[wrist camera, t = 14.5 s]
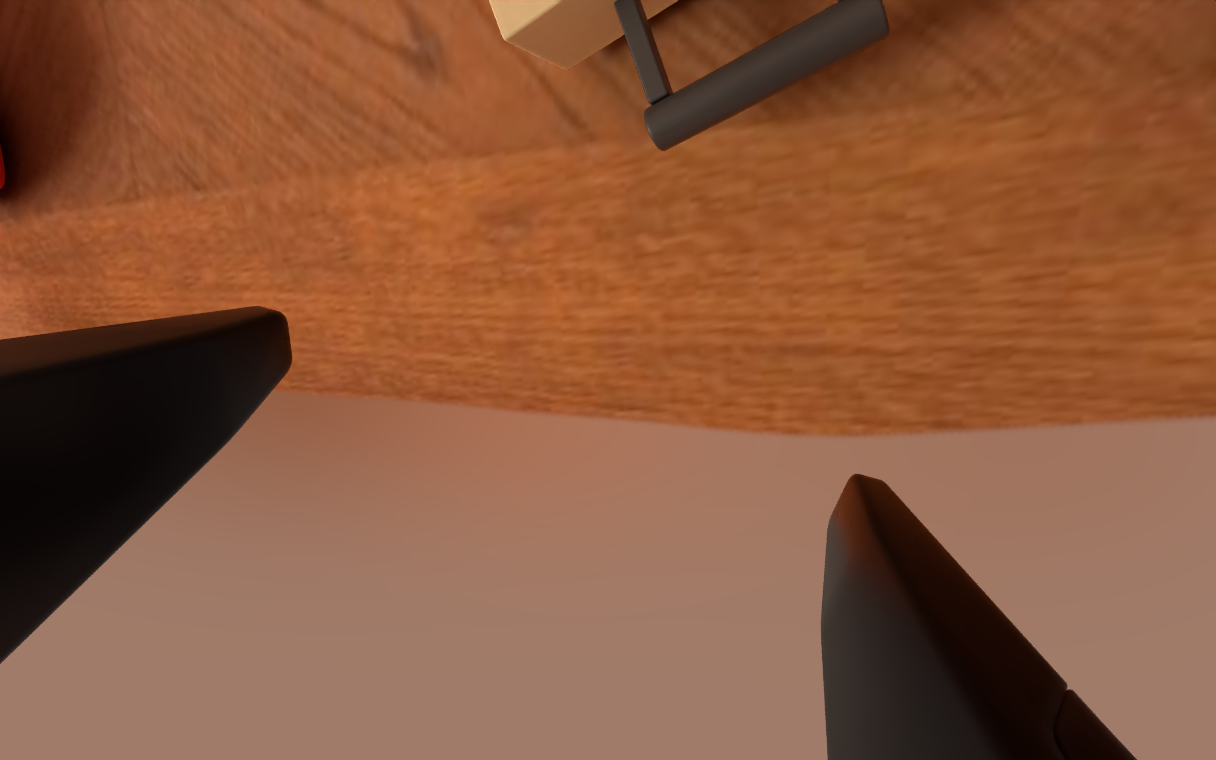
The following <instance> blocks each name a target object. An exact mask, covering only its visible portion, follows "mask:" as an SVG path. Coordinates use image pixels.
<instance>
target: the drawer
mask: <svg viewBox="0 0 1216 760" xmlns="http://www.w3.org/2000/svg"><path fill="white" fill-rule="evenodd" d="M677 1H678V0H489V2H490V4H491V7H492V10H493V13H494V15H495V18H496V21H497V23H498V26H499V29H500V31H501V34H502V37H503V39H504V40H505V41H507V42H509V43H511V44H513V45H515V46H517V47H519V48H521V49H523V50H525V51H527V52H529V53H531V54H533V55H535V56H538V57H540V58H542V59H544V60H546V61H548V62H550V63H552V64H554V65H556V66H558V67H560V68H562V69H564V70H569V69H570V68H572V67H574V66H575V65H577V64H578V63H580V62H582V61H583V60H585V59H586V58H588V57H589V56H591V55H593V54H594V53H596V52H597V51H599V50H601V49H602V48H604V47H605V46H607V45H608V44H610V43H612V42H613V41H615V40H616V39H618V38H620V37H621V36H623V35H625V37H626V40H627V43H628V46H629V49H630V52H631V54H632V57H633V60H634V63H635V66H636V68H637V71H638V74H639V77H640V80H641V83H642V85H643V88H644V91H645V94H646V97H647V100H648V102H649V103H650V104H651V105H652V106H650V107H648V108H647V109H646V110H645V111H644V119H645V124H646V127H647V130H648V132H649V135H650V137H651V139H652V140H653V142H654V144H655V145H656V146H657V147H658V148H659V149H660V150H661V151H665V150H667V149H669V148H671V147H673V146H675V145H677V144H679V143H681V142H683V141H685V140H687V139H689V138H691V137H693V136H695V135H697V134H699V133H701V132H703V131H705V130H707V129H709V128H711V127H712V126H714V125H716V124H718V123H720V122H722V121H724V120H726V119H728V118H730V117H732V116H734V115H736V114H738V113H740V112H742V111H744V110H746V109H748V108H750V107H752V106H754V105H756V104H758V103H760V102H762V101H764V100H765V99H767V98H769V97H771V96H773V95H775V94H777V93H779V92H781V91H783V90H785V89H787V88H789V87H791V86H793V85H795V84H797V83H799V82H801V81H803V80H805V79H807V78H809V77H811V76H813V75H815V74H817V73H818V72H820V71H822V70H824V69H826V68H828V67H830V66H832V65H834V64H836V63H838V62H840V61H842V60H844V59H846V58H848V57H850V56H852V55H854V54H856V53H858V52H860V51H862V50H864V49H866V48H868V47H869V46H871V45H873V44H875V43H877V42H879V41H881V40H883V39H885V38H887V37H888V36H889V32H890V29H889V24H888V19H887V16H886V12H885V8H884V5H883V2H882V0H838V3H836V4H834V5H832V6H830V7H829V8H827V9H825V10H823V11H821V12H820V13H818V14H816V15H814V16H812V17H811V18H809V19H807V20H805V21H803V22H802V23H800V24H798V25H796V26H794V27H792V28H791V29H789V30H787V31H785V32H783V33H782V34H780V35H778V36H776V37H774V38H773V39H771V40H769V41H767V42H765V43H764V44H762V45H760V46H758V47H756V48H755V49H753V50H751V51H749V52H747V53H746V54H744V55H742V56H740V57H738V58H737V59H735V60H733V61H731V62H729V63H728V64H726V65H724V66H722V67H720V68H719V69H717V70H715V71H713V72H711V73H710V74H708V75H706V76H704V77H702V78H700V79H699V80H697V81H695V82H693V83H691V84H690V85H688V86H686V87H684V88H682V89H681V90H679V91H677V92H675V93H673V91H672V89H671V86H670V83H669V80H668V77H667V74H666V71H665V69H664V66H663V63H662V60H661V57H660V54H659V51H658V49H657V46H656V43H655V40H654V37H653V34H652V32H651V29H650V26H649V23H648V19H650V18H651V17H653V16H654V15H656V14H658V13H659V12H661V11H662V10H664V9H666V8H667V7H669V6H670V5H672V4H674V3H675V2H677Z"/></svg>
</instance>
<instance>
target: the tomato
mask: <svg viewBox="0 0 1216 760" xmlns="http://www.w3.org/2000/svg"><path fill="white" fill-rule="evenodd" d="M4 184H5V166H4V161H3V156H2V151H1V145H0V189H1V188H2V187H3V185H4Z"/></svg>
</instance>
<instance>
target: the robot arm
mask: <svg viewBox="0 0 1216 760" xmlns="http://www.w3.org/2000/svg"><path fill="white" fill-rule="evenodd" d="M291 363H292V351H291V343H290V336H289V328H288V322H287V319H286V317H285V316H284V314H282V313H281V312H279V311H275V310H272V309H268V308H265V307H261V306H253V307H245V308H238V309H230V310H222V311H215V312H207V313H200V314H192V315H184V316H177V317H169V318H162V319H154V320H147V321H139V322H131V323H124V324H116V325H109V326H101V327H93V328H86V329H78V330H71V331H63V332H55V333H48V334H40V335H33V336H25V337H17V338H10V339H2V340H0V664H1V663H2V662H3V661H4V660H5V659H6V658H7V657H8V656H9V655H10V654H11V653H12V652H13V651H14V650H15V649H16V648H17V647H18V646H19V645H20V644H21V643H22V642H23V641H24V640H25V639H26V638H28V637H29V635H30V634H32V633H33V632H34V631H35V630H36V629H37V628H38V627H39V626H40V625H41V624H42V623H43V622H44V621H45V620H46V619H47V618H48V617H49V616H50V615H51V614H52V613H53V612H54V611H55V610H56V609H57V608H58V607H59V606H60V605H61V604H62V603H63V602H65V601H66V599H68V598H69V597H70V596H71V595H72V594H73V593H74V592H75V591H76V590H77V589H78V588H79V587H80V586H81V585H82V584H83V583H84V582H85V581H86V580H87V579H88V578H89V577H90V576H91V575H92V574H93V573H94V572H95V571H96V570H97V569H98V568H99V567H100V566H101V565H103V563H105V562H106V561H107V560H108V559H109V558H110V557H111V556H112V555H113V554H114V553H115V552H116V551H117V550H118V549H119V548H120V547H121V546H122V545H123V544H124V543H125V542H126V541H127V540H128V539H129V538H130V537H131V536H132V535H133V534H134V533H135V532H136V531H137V530H138V529H140V528H141V527H142V526H143V525H144V524H145V523H146V521H148V520H149V519H150V518H151V517H152V516H153V515H154V514H155V513H156V512H157V511H158V510H159V509H160V508H161V507H162V506H163V505H164V504H165V503H166V502H167V501H168V500H169V499H170V498H171V497H172V496H173V495H175V494H176V493H177V492H178V490H179V489H181V488H182V487H183V486H184V485H185V484H186V483H187V482H188V481H189V480H190V479H191V478H192V477H193V476H194V475H195V474H196V473H197V472H198V471H199V470H200V469H201V468H202V467H203V466H204V465H205V464H206V463H207V462H208V461H209V460H210V459H211V458H212V457H214V456H215V455H216V454H217V453H218V452H219V451H220V450H221V449H222V448H223V447H224V446H225V445H226V444H227V442H229V441H230V440H231V438H232V437H233V436H234V435H235V434H236V433H237V432H238V430H239V429H240V428H241V427H242V426H243V425H244V423H245V422H246V421H247V420H248V419H249V417H250V416H251V415H252V414H253V413H254V412H255V410H256V409H257V408H258V407H259V406H260V404H261V403H262V402H263V401H264V400H265V398H266V397H267V396H268V395H269V394H270V393H271V391H272V390H273V389H274V388H275V387H276V385H277V384H278V383H279V382H280V381H281V379H282V378H283V377H284V376H285V375H286V373H287V372H288V371H289V369H290V366H291ZM821 644H822V661H823V680H824V696H825V697H824V698H825V715H826V732H827V733H826V734H827V753H828V760H1137V759H1136V758H1135V757H1134V756H1133V755H1132V754H1131V753H1130V752H1129V751H1128V750H1127V748H1126V747H1125V746H1124V745H1123V744H1122V743H1121V742H1120V741H1119V740H1118V739H1117V738H1116V737H1115V736H1114V735H1113V733H1112V732H1111V731H1110V730H1109V729H1108V728H1107V727H1106V726H1105V725H1104V724H1103V723H1102V722H1101V721H1100V720H1099V718H1098V717H1097V716H1096V715H1095V714H1094V713H1093V712H1092V711H1091V709H1090V708H1089V707H1088V706H1087V705H1086V704H1085V703H1084V702H1083V701H1082V700H1081V698H1079V696H1078V695H1077V694H1076V693H1075V692H1074V691H1073V690H1070V689H1069V690H1067V683H1066V682H1065V681H1064V680H1063V679H1062V678H1061V677H1060V675H1059V674H1058V673H1057V672H1056V671H1055V670H1054V669H1053V668H1052V667H1051V665H1050V664H1049V663H1048V662H1047V661H1046V660H1045V659H1044V658H1043V657H1042V656H1041V654H1040V653H1039V652H1038V651H1037V650H1036V649H1035V648H1034V647H1033V646H1032V644H1031V643H1030V642H1029V641H1028V640H1027V639H1026V638H1025V637H1024V636H1023V634H1022V633H1020V631H1019V630H1018V629H1017V628H1016V627H1015V626H1014V625H1013V623H1012V622H1011V621H1010V620H1009V619H1008V618H1007V617H1006V616H1005V615H1004V613H1003V612H1002V611H1001V610H1000V609H999V608H998V607H997V606H996V605H995V604H994V602H993V601H992V600H991V599H990V598H989V597H988V596H987V595H986V594H985V592H984V591H983V590H982V589H981V588H980V587H979V586H978V585H977V584H976V582H975V581H973V579H972V578H971V577H970V576H969V575H968V574H967V573H966V571H965V570H964V569H963V568H962V567H961V566H960V565H959V564H958V563H957V562H956V560H955V559H954V558H953V557H952V556H951V555H950V554H949V553H948V552H947V551H946V549H944V547H943V546H942V545H941V544H940V543H939V542H938V540H937V539H936V538H935V537H934V536H933V535H932V534H931V533H930V532H929V530H928V529H927V528H926V527H925V526H924V525H923V524H922V523H921V522H920V521H919V520H918V518H917V517H916V516H915V515H914V514H913V513H912V512H911V511H910V509H909V508H908V507H907V506H906V505H905V504H904V503H903V502H902V501H901V500H900V498H898V496H897V495H896V494H895V493H894V492H893V491H892V490H891V488H890V487H889V486H888V485H887V484H886V483H885V482H883V481H882V480H879V479H875V478H872V477H868V476H864V475H861V474H854V475H852V476H851V477H850V479H849V480H848V482H847V484H846V486H845V488H844V490H843V492H842V494H841V496H840V498H839V500H838V502H837V504H836V507H835V509H834V511H833V513H832V515H831V518H830V521H829V525H828V530H827V544H826V557H825V572H824V586H823V599H822V614H821Z"/></svg>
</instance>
